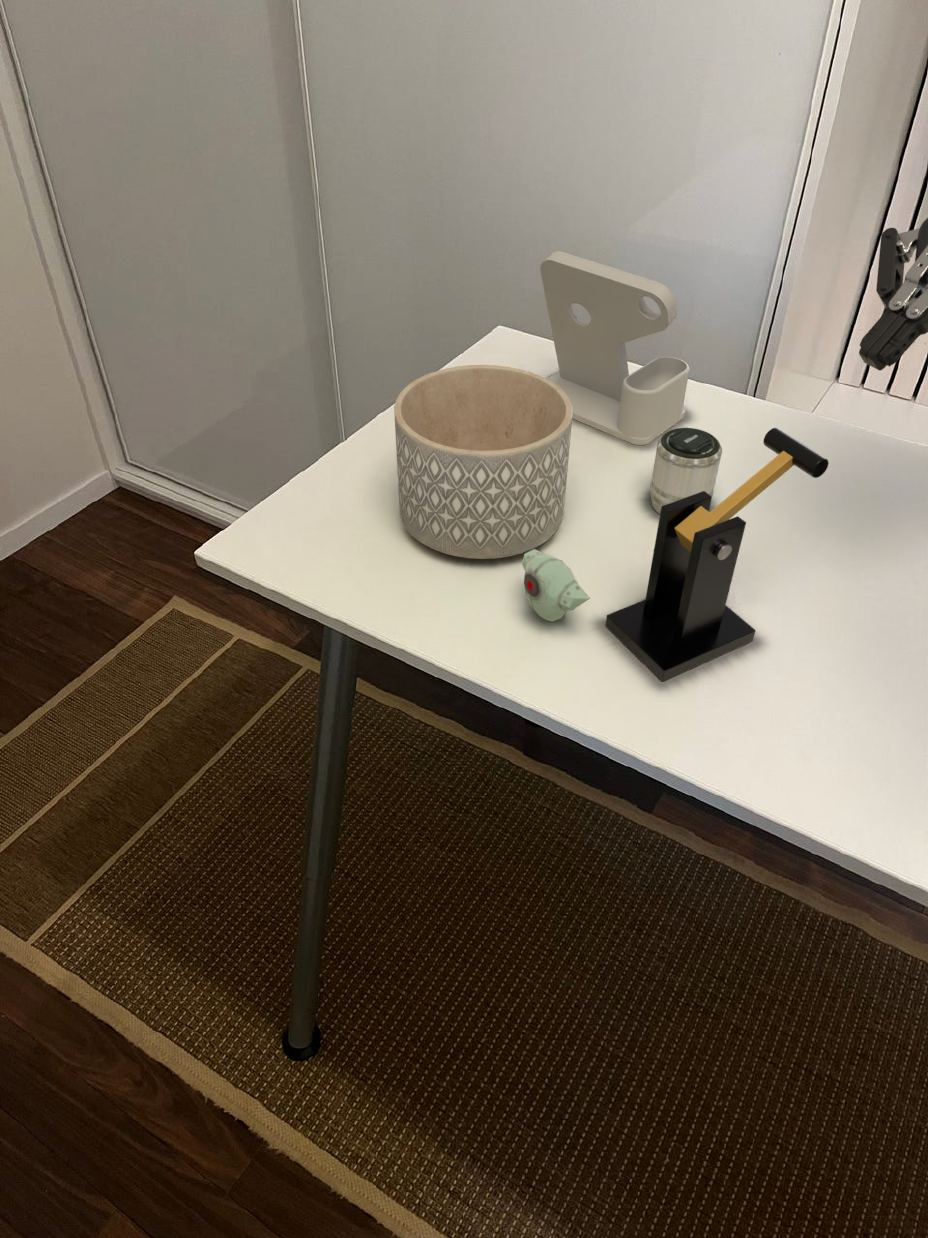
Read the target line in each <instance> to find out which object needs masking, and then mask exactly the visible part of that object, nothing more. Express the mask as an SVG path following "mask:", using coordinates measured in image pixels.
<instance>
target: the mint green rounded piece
mask: <svg viewBox="0 0 928 1238" xmlns="http://www.w3.org/2000/svg"><path fill="white" fill-rule="evenodd" d="M521 565H522V568H523V570H524V576H523V577H524V578H523V586H524V592H525V596H526V599H527V601H528V603H529V606H530V607H531V609H533V611H534V612H535V613H536V614H537V615H538V616H539V617H540V618H542V619H543V620H545V621H548V622H555V621H558V620H560V619H562V618H563V617H564V616H565V614H566V613H567V612H570V611H574V610H575V609H576V608H578V607H579V606H581V605H583V604H584V603H586V602H588V601H589V600H590V599H591V596H589V595H588V594H587V592H585V590H584V589H583V588H582V587H581V585H580V584H579V582H578V581H577V579H576V577H575V575H574V574H573V571H572V569H571V568H570V567H569V566H568V565H567V563H565V561H563V560H562V559H560V558H558V557H555V556H553V555H551V554H547V553H543V552H542V551H540V550H537V549H536V548H533V549H531V550H529V551H526V552H524V554H523V559H522V562H521Z"/></svg>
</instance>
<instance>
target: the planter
mask: <svg viewBox="0 0 928 1238" xmlns="http://www.w3.org/2000/svg"><path fill="white" fill-rule="evenodd" d="M393 410H394V411H393V413H394V414H393V415H394V428H395V429H394V432H395V449H396V451H395V452H396V468H397V469H396V470H397V472H396V473H397V488H398V489H397V490H398V505H399V507H398V509H399V517H400V520H401V523H402V524H403V527H404V528H405V530H406V531H407V532H408V533H409V534H410V535H411V537H412V538H414V539H415V540H417V541H418V542H419V543H421V544H423V545H424V546H426V547H428V548H430V549H432V550H434V551H437V552H439V553H442V554H445V555H450V556H453V557H459V558H465V559H475V560H477V559H478V560H489V559H492V560H493V559H501V558H508V557H513V556H516V555H520V554H523V553H527V552H529V551H531V550H533V549H536V548H537V547H539V546H541V545H542V544H544V543H545V542H547V541H548V540H550V539H551V538H552V537H553V535H554V534H556V532H557V531H558V529H559V528H560V526H561V525H562V523H563V518H564V513H565V503H566V491H567V482H568V481H567V480H568V471H569V459H570V447H571V436H572V426H573V418H572V415H573V409H572V404H571V401H570V399H569V398H568V396H567V395H566V393H565V392H564V391H563V390H562V389H561V388H560V387H558V386H557V385H556V384H554V383H553V382H551V381H550V380H548V379H547V378H546V377H544V376H542V375H540V374H537V373H534V372H531V371H529V370H524V369H521V368H516V367H511V366H505V365H496V364H468V365H460V366H459V365H458V366H452V367H447V368H443V369H440V370H435V371H432V372H429V373H428V374H425V375H422V376H420V377H419V378H417V379H414V380H413V381H412V382H411V383H409V384H407V385H406V386H405V387H404V389H402V390H401V391H400V392H399V394H398V395H397V397H396V399H395V403H394V407H393Z"/></svg>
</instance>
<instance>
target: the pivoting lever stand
mask: <svg viewBox="0 0 928 1238" xmlns="http://www.w3.org/2000/svg"><path fill="white" fill-rule="evenodd" d="M712 498H713V496H710V495H709V494H708V493H706V492H705V491H702V492H699V493H697V494H694V495H691V496H688V497H686V498H683V499H680V500H677V501H675V502H672V503H669V504H666V505H664V506H662V507H661V512H660V514H659V519H658V525H657V531H656V537H655V542H654V549H653V553H652V554H653V555H652V560H651V564H650V571H649V577H648V581H647V582H648V583H647V587H646V594H645V599H643V600H641V601H638V602H635V603H633V604H631V605H628V606H626V607H623V608H620V609H618V610H615V611H613V612H611V613H609V614H606V618H605V627H606V628H607V629H608V630H609V631H610V632H611V633H612V634H613V635H614V636H615V637H616V638H617V639H618V640H619V641H620V642H621V643H622V644H623V645H624V646H625V647H626V648H627V649H628V650H629V651H630V652H631V653H632V654H633V655H634V656H635V657H637V659H639V661H641V663H642V664H643V665H644V666H645V667H646V668H648V670H649V671H651V672H652V673H653V674H654V675H655V676H656V677H657V678H658V679H659V680H660V681H661V682H662V683H663V682H666V681H667V680H670V679H672V678H674V677H676V676H678V675H681V674H683V673H685V672H687V671H689V670H692V669H695V668H696V667H698V666H701V665H703V664H705V663H707V662H709V661H712V660H714V659H716V658H719V657H721V656H723V655H725V654H727V653H730V652H731V651H734V650H736V649H739V648H740V647H743V646H746V645H748V644H749V643H752V642H753V641H754V638H755V634H756V629H755V628H754V627H752V625H750V624H749V623H748V622H747V621H745V620H744V619H743V618H742V617H741V616H740V615H739V614H737V613H736V612H735V611H734V610H733V609H731V608H730V607H729V606H728V605H727V601H728V597H729V593H730V589H731V586H732V581H733V577H734V573H735V569H736V566H737V565H736V564H737V561H738V557H739V553H740V549H741V545H742V541H743V537H744V533H745V530H746V525H747V522H746V521H745V520H744V519H742V518H741V517H740V516H733V517H732V518H730V519H729V520H727V521H724V522H721V523H719V524H716V525H714V526H711V527H708V528H706V529H703V530H700V531H698V532H695V534H694V539H693V543H692V548H691V552H689V551H688V550H687V549H686V548H684V547H683V546H682V545H681V543H680V541H679V538H678V536H677V533H676V531H675V527H676V526H677V525H679V524H680V523H681V522H682V521H683V520H685V519H686V518H687V517H688V516H689V515H691V514H692V513H693V512H694V511H695V510H697V509H698V508H699V507H700V506H702V507H703V508H704V509H706V510H707V511H708V512H710V509H711V504H712Z"/></svg>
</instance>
